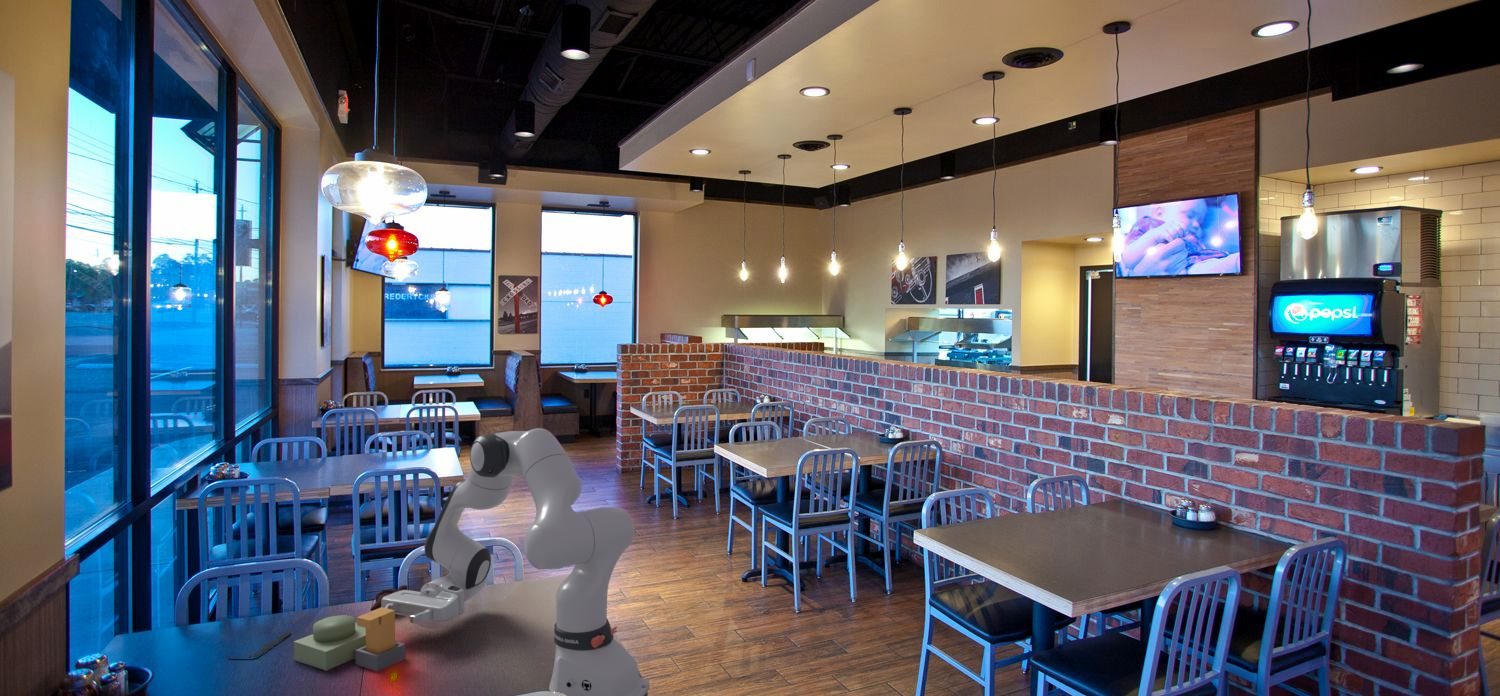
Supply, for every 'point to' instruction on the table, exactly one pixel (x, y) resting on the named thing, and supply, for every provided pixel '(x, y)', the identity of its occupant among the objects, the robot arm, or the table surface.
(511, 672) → the table surface
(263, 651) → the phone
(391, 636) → the tall tan cardboard block
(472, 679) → the table surface
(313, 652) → the green and grey blocks
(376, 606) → the dark brown rounded piece
